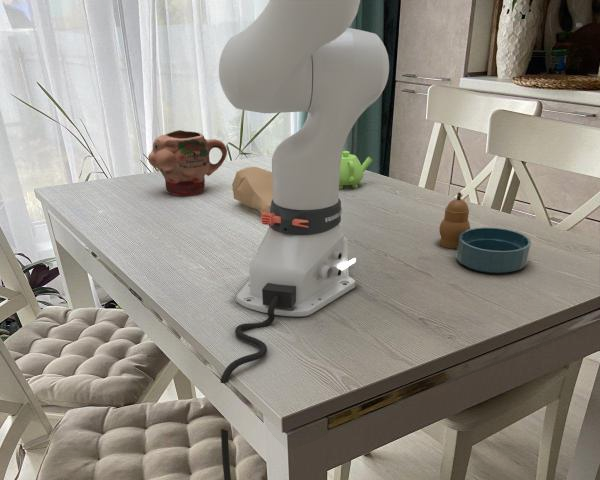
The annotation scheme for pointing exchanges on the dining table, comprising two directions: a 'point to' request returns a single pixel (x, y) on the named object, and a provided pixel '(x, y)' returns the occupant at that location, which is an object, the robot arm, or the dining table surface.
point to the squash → (254, 188)
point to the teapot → (351, 169)
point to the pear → (454, 222)
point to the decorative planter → (185, 160)
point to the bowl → (493, 250)
